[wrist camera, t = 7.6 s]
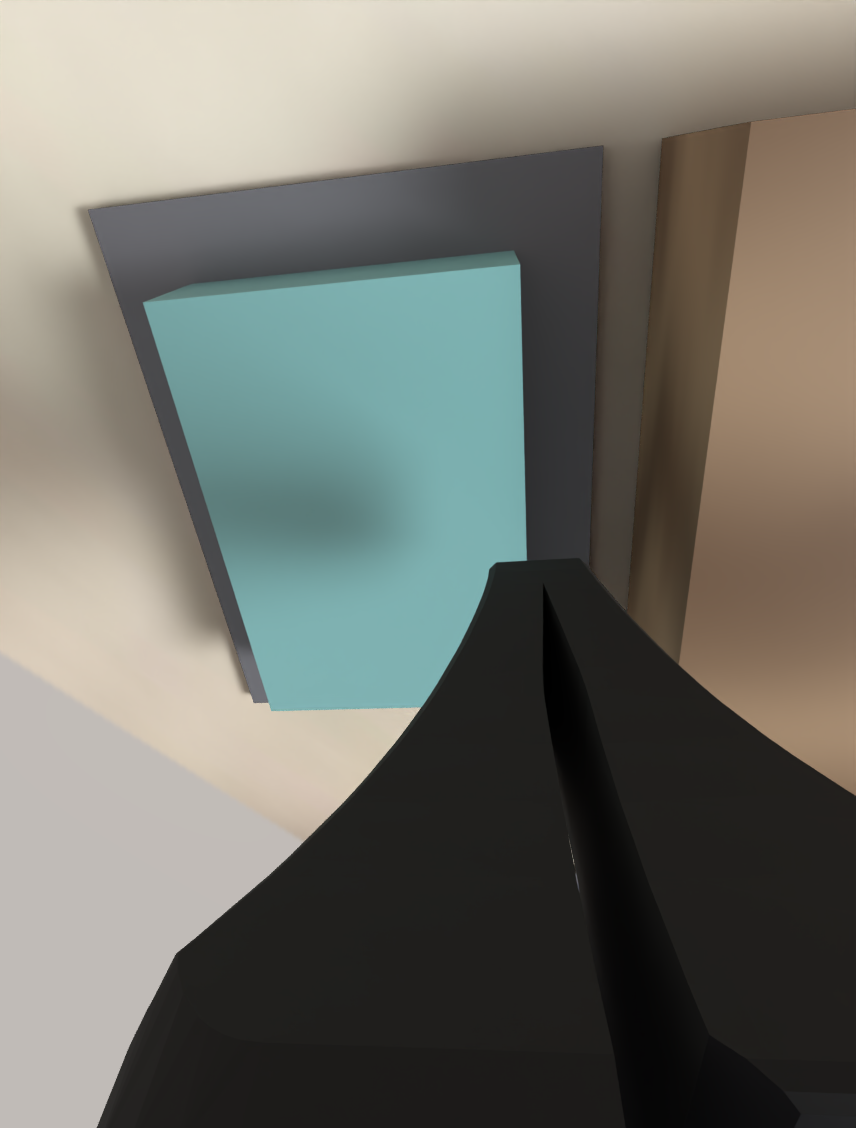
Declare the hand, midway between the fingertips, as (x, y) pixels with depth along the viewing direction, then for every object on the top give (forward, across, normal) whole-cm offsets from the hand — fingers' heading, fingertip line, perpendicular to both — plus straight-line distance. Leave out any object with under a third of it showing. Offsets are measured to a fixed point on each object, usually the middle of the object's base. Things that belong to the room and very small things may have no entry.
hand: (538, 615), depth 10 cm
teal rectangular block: (+3, +3, 0) cm, 4 cm away
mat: (+5, +3, 0) cm, 6 cm away
